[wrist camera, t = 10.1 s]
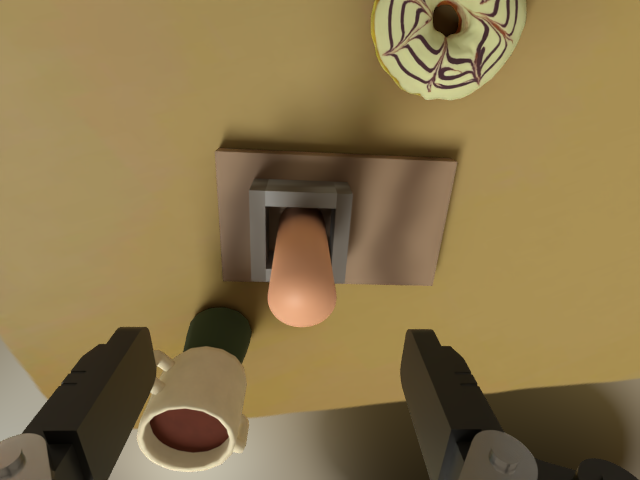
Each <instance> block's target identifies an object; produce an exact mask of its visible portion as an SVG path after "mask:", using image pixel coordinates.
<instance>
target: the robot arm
mask: <svg viewBox="0 0 640 480" xmlns="http://www.w3.org/2000/svg"><path fill="white" fill-rule="evenodd" d="M400 376H401V384H402V388H403V391H404V395H405V398H406V401H407V405H408V408H409V411H410V414H411V418H412V421H413V424H414V427H415V431H416V434H417V437H418V441H419V444H420V447H421V450H422V454H423V457H424V460H425V464H426V467H427V470H428V473H429V477H430V480H638V479H637V478H636V477H634V476H633V475H632V474H631V473H629V472H628V471H626V470H625V469H623V468H621V467H620V466H617V465H616V464H614V463H611V462H608V461H606V460H601V459H595V458H594V459H586V460H584V461H582V462H581V463H580V465H579V467H578V469H577V471H575V470H572V469H568V468H565V467H561V466H558V465H555V464H551V463H548V462H544V461H541V460H538V459H536V458H534V457H533V455H532V454H531V453H530V451H529V450H528V449H527V448H526V447H525V446H524V445H523V444H522V443H521V442H520V441H518V440H517V439H515V438H514V437H512V436H510V435H508V434H506V433H504V431H503V429H502V427H501V426H500V424H499V422H498V420H497V418H496V417H495V415H494V413H493V411H492V410H491V407H490V406H489V404H488V402H487V400H486V398H485V397H484V395H483V393H482V391H481V389H480V387H479V386H477V382H476V380H475V378H474V377H473V375H471V371H470V369H469V367H468V366H467V364H466V362H465V360H464V358H463V357H462V356H460V355H459V354H458V353H457V352H456V351H455V350H454V349H453V348H452V347H451V346H441V345H440V343H439V341H438V339H437V337H436V335H435V333H434V331H433V330H431V329H408V330H407V332H406V337H405V343H404V349H403V355H402V361H401V368H400ZM155 378H156V362H155V357H154V352H153V347H152V342H151V337H150V332H149V329H148V328H147V327H120V328H118V329H117V330H116V331H115V333H114V334H113V335H112V337H111V338H110V340H109V341H108V342H107V344H99V345H97V346H96V347H95V348H93V349H92V350H91V351H89V352H88V353H86V354H85V355H84V356H82V358H81V359H80V360H79V361H78V363H77V364H76V365H75V366H74V368H73V369H72V370H71V374H68V375H67V377H66V378H65V379H64V380H63V382H62V384H61V386H59V387H58V388H57V389H56V391H55V392H54V393H53V394H52V396H51V397H50V398H49V399H48V401H47V402H46V403H45V405H44V406H43V407H42V409H41V410H40V411H39V412H38V414H37V415H36V416H35V417H34V419H33V420H32V421H31V422H30V424H29V425H28V426H27V427H26V429H25V430H24V431H23V433H22V434H20V435H16V436H12V437H10V438H7V439H5V440H3V441H1V442H0V480H108V478H109V476H110V474H111V472H112V470H113V468H114V466H115V464H116V462H117V460H118V458H119V456H120V454H121V451H122V449H123V447H124V445H125V443H126V441H127V439H128V437H129V435H130V433H131V431H132V429H133V427H134V425H135V423H136V421H137V419H138V417H139V414H140V412H141V410H142V408H143V406H144V404H145V402H146V400H147V398H148V396H149V394H150V392H151V390H152V388H153V385H154V382H155Z"/></svg>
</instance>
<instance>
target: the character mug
mask: <svg viewBox="0 0 640 480" xmlns="http://www.w3.org/2000/svg"><path fill="white" fill-rule="evenodd" d="M251 333H252V331H251V328H250V325H249V323H248V320H247V319H246V318H245V317H244V316H243V315H241V314H240V313H239V312H238V311H235V310H232V309H228V308H225V307H222V308H210V309H207V310H205V311H203V312H201V313H198V314H197V315H196V316H195V318H194V319H193V320H192V321H191V323H190V326H189V330H188V333H187V337H186V342H185V346H184V351H183V353H181V354H179V355H178V356H176V357H175V358H174V359H171V358H170V357H168V356H167V355H166V354H164V353H163V352H161V351H159V350H154V351H153V352H154V357H155V362H156V367H157V366H158V367H160V368H161V369H162V370H164V371H163V373H162V375H161V377H160V379H158V378H157V377H156V378H155V382H154V385H153V388H152V390H151V393H152V395H151V398H150V400H149V402H148V404H147V407H146V409H145V411H144V413H143V415H142V417H141V420H140V423H139V428H138V433H137V441H138V444H139V447H140V450H141V451H142V452H143V453H144V455H145V456H146V457H147V458H148V459H150V460H151V461H152V462H153V463H155V464H157V465H159V466H162V467H165V468H168V469H170V470H176V471H184V472H194V471H202V470H208V469H210V468H213V467H215V466H218V465H220V464H222V463H223V462H224V461H225V460H226V459H227V458H228V457H229V456H231V454H232V452H236V453H242V452H243V450H244V448H245V446H246V441H247V434H248V428H249V421H248V419H247V418H246V416H244V415H243V414H242V408H243V403H244V397H245V392H246V386H247V383H246V376H245V370H244V367H243V366H242V362H243V360H244V357H245V355H246V352H247V349H248V346H249V343H250V338H251Z"/></svg>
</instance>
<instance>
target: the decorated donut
mask: <svg viewBox="0 0 640 480" xmlns="http://www.w3.org/2000/svg"><path fill="white" fill-rule="evenodd" d="M440 5H450V6H452V7H453V9H454V10H455V12H457V16H458V18H459V22H458V23H459V24H458V29H457V31H456V33H455V34H451V35H449V36H448V37H445V36H444V35H443V34H442V33H441V32H438V31H436V30H435V29H434V27H433V12H434V9H435V8H436V7H439V6H440ZM525 22H526V0H375V1H374V5H373V10H372V14H371V36H372V39H373V42H374V45H375V51H376V56H377V58H378V61H379V63H380V65H381V66H382V68H383V69H384V70H385V71H386V72H387V73H388V74H389V75H390V76H391V77H392V79H393V80H394V82H395V83H396V84H397V85H398V86H399V88H400V89H402V90H404V91H406V92H408V93H410V94H416V95H418V96H421V97H423V98H424V99H426V100H432V99H447V100H455V99H460V98H463V97H465V96H467V95H470V94H471V93H473V92H474V91H475V90H477V89H478V88H480V87H481V86H482V85H484V84H485V83H486V82H488V81H489V80H491V79H492V78H493V77H494V75H495V74H496V73H497V72H498V71H499V70H500V69H501V67H502V66H503V65H504V64H505V62H506V61H507V59H508V58H509V57H510V56H511V54H512V52H513V50H514V49H515V47H516V45H517V43H518V41H519V39H520V36H521V33H522V30H523V28H524V26H525Z"/></svg>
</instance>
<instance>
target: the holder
mask: <svg viewBox="0 0 640 480" xmlns="http://www.w3.org/2000/svg"><path fill="white" fill-rule="evenodd" d="M215 160H216V176H217V193H218V209H219V225H220V241H221V257H222V273H223V281H239V282H270V278H271V271H272V264H273V258H274V251H275V245H276V238H277V231H278V225H279V219H280V216H281V214H282V212H283V211H284V209H285V208H286V207H302V208H318V209H319V210H320V211H321V213H322V215H323V217H324V222H325V228H326V234H327V241H328V247H329V253H330V259H331V265H332V271H333V277H334V283H335V284H377V285H423V286H432V285H433V280H434V275H435V270H436V265H437V261H438V256H439V251H440V246H441V241H442V236H443V231H444V226H445V221H446V216H447V211H448V206H449V202H450V197H451V192H452V187H453V182H454V177H455V172H456V167H457V161H455V160H453V159H451V158H433V157H410V156H388V155H365V154H343V153H320V152H298V151H275V150H253V149H230V148H218V149H217V150H216V151H215Z"/></svg>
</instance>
